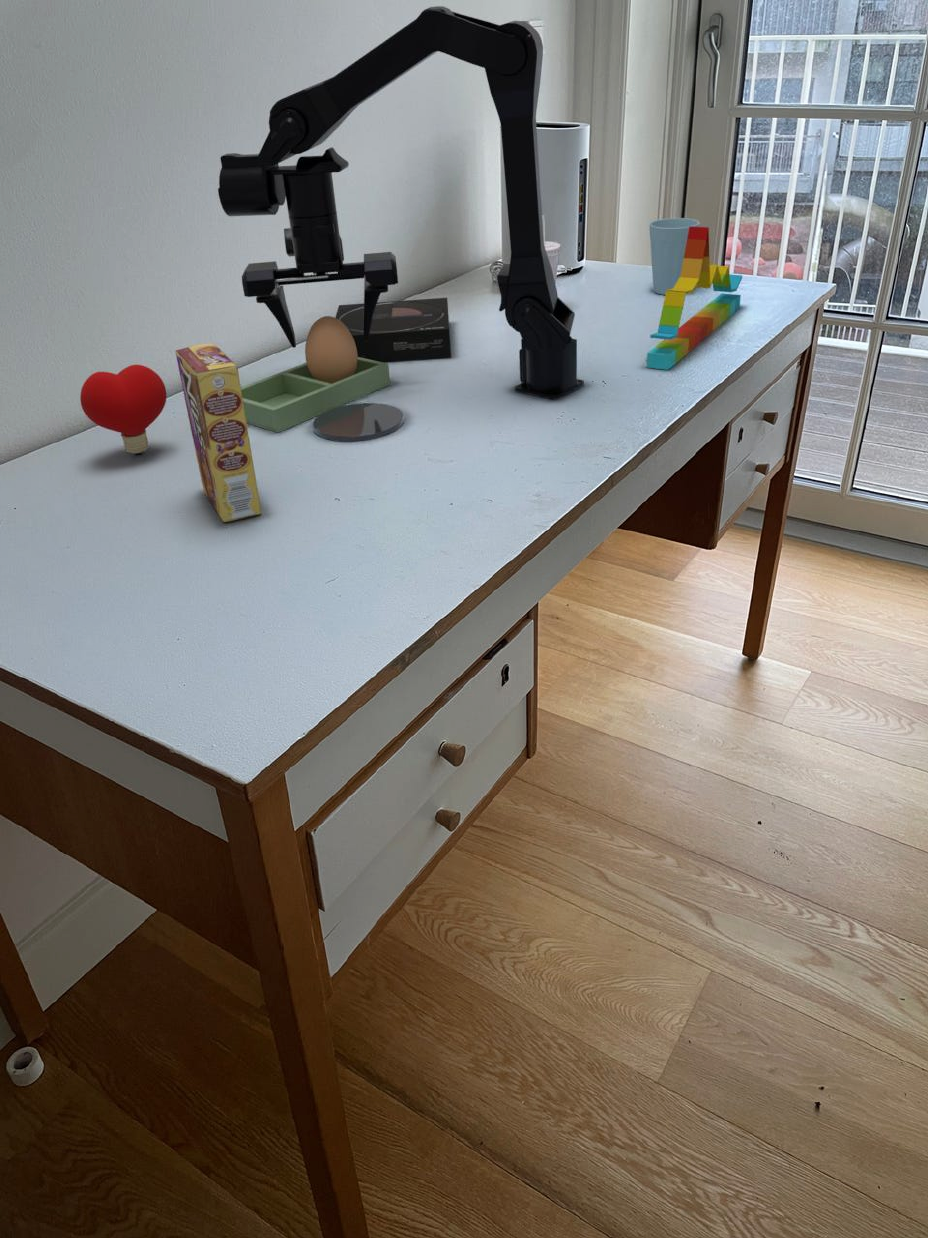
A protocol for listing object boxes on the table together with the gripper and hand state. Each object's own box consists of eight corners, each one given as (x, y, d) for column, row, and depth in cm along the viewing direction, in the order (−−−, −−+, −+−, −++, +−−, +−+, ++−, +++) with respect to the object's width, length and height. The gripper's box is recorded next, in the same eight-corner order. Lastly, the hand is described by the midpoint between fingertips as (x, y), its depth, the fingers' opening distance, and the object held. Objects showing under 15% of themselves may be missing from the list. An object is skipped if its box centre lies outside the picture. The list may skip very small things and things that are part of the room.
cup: (637, 293, 158) (640, 225, 152) (662, 282, 163) (665, 216, 157) (678, 299, 154) (683, 229, 148) (703, 288, 158) (708, 220, 153)
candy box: (266, 514, 98) (238, 364, 90) (224, 524, 96) (191, 373, 88) (242, 482, 105) (214, 340, 96) (203, 492, 103) (171, 348, 95)
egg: (300, 391, 127) (288, 321, 122) (331, 375, 132) (322, 307, 127) (340, 398, 124) (330, 326, 119) (371, 381, 129) (363, 311, 124)
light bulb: (103, 474, 109) (78, 387, 103) (92, 453, 114) (68, 370, 109) (186, 454, 112) (166, 369, 107) (171, 435, 117) (152, 353, 112)
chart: (718, 305, 149) (727, 200, 141) (739, 307, 148) (749, 201, 140) (644, 367, 128) (649, 247, 120) (668, 370, 126) (674, 248, 118)
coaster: (422, 418, 117) (421, 413, 117) (358, 448, 111) (357, 443, 110) (359, 401, 123) (358, 397, 123) (295, 429, 117) (294, 424, 116)
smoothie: (559, 316, 150) (558, 219, 142) (517, 316, 151) (514, 220, 144) (563, 304, 155) (563, 210, 148) (523, 304, 156) (521, 211, 149)
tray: (390, 384, 128) (388, 363, 127) (277, 432, 116) (273, 410, 115) (337, 371, 134) (334, 351, 132) (224, 416, 122) (220, 394, 120)
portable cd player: (449, 322, 150) (447, 296, 148) (451, 357, 136) (449, 328, 134) (342, 330, 151) (339, 303, 148) (333, 365, 136) (329, 337, 134)
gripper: (389, 195, 123) (401, 319, 132) (241, 207, 123) (262, 331, 131) (391, 211, 114) (404, 344, 122) (231, 224, 113) (254, 357, 122)
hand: (330, 343), depth 125 cm, fingers open, 9 cm apart
